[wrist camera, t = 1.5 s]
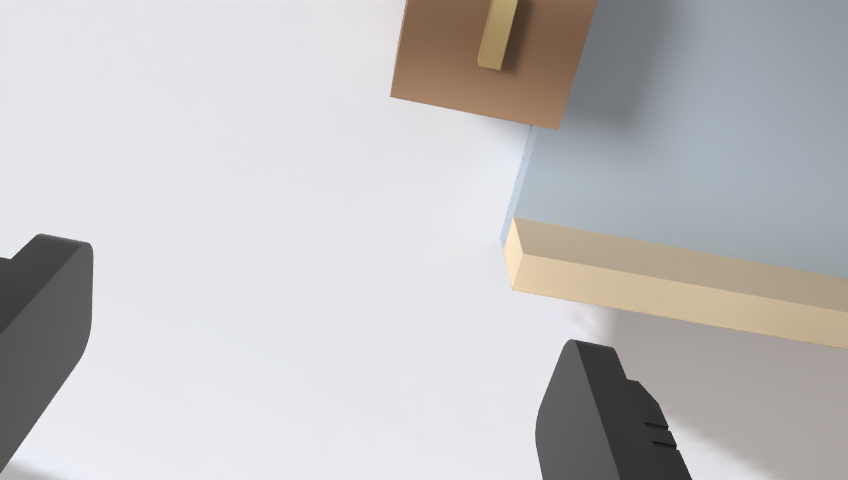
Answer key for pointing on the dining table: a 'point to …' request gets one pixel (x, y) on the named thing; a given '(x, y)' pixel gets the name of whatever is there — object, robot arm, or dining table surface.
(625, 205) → the board
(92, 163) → the dining table surface
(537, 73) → the walnut box
